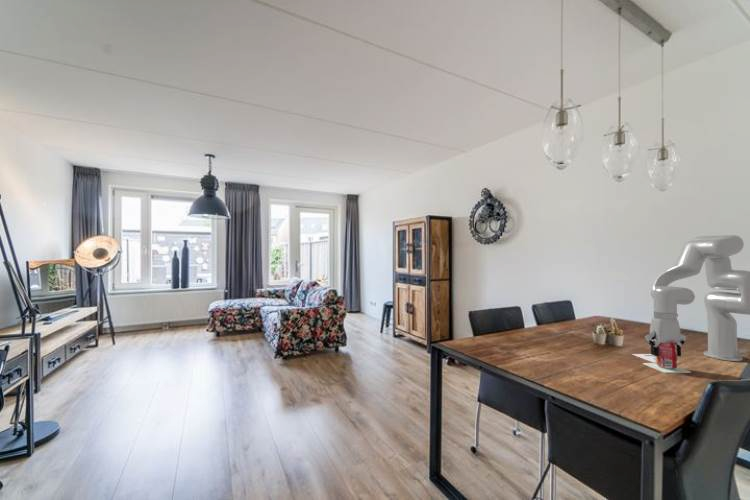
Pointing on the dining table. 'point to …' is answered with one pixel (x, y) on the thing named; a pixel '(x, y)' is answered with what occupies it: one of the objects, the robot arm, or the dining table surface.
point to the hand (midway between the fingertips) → (665, 355)
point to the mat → (676, 370)
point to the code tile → (648, 357)
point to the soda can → (667, 355)
